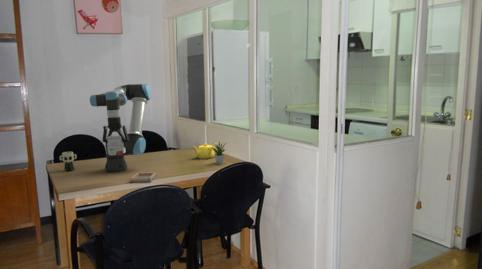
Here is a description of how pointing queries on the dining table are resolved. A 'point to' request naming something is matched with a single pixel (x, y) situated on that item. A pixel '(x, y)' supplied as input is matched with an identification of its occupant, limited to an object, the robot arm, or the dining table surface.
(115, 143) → the ink box
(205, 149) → the teapot
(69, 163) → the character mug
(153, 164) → the dining table surface
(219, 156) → the house plant
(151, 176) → the holder
